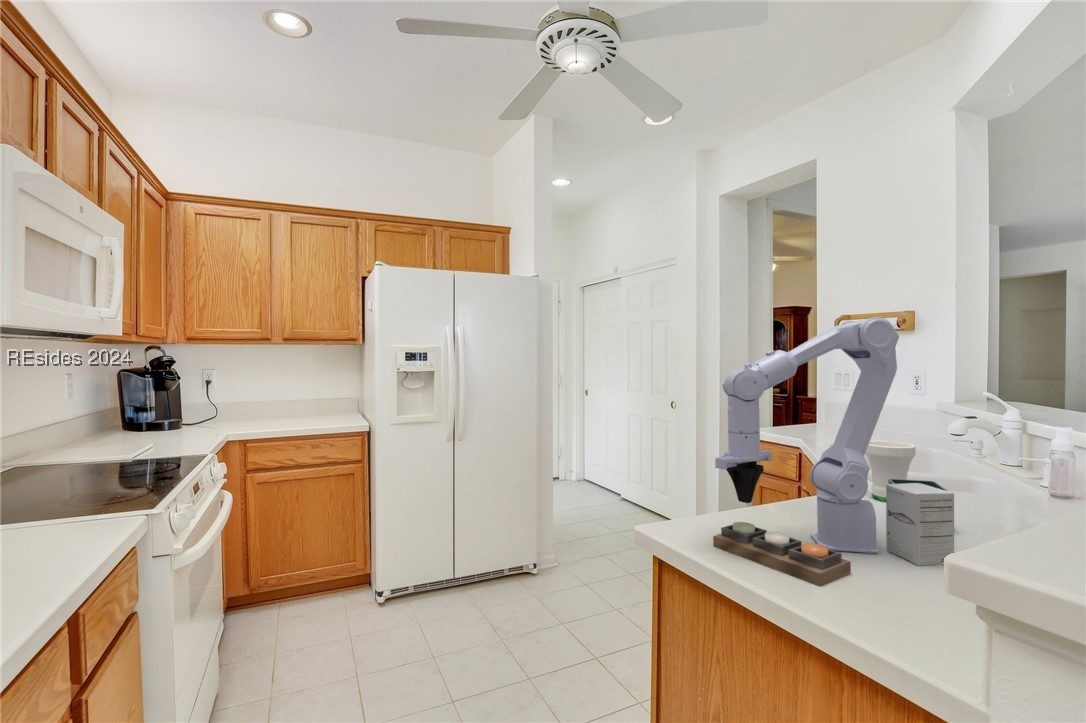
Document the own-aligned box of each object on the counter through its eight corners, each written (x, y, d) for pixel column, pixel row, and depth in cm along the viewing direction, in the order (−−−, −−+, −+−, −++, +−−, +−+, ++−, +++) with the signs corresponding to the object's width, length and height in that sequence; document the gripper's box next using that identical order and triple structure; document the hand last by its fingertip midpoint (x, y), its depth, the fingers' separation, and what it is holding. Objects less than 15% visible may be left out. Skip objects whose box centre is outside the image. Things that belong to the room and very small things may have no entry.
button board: (713, 546, 99) (713, 528, 99) (743, 537, 104) (743, 520, 104) (820, 586, 81) (819, 564, 81) (850, 573, 86) (850, 552, 86)
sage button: (728, 534, 99) (728, 524, 99) (741, 530, 101) (741, 520, 101) (746, 540, 96) (745, 530, 96) (759, 536, 98) (759, 526, 98)
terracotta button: (796, 557, 87) (796, 546, 87) (810, 553, 89) (810, 541, 89) (819, 565, 84) (819, 553, 84) (833, 560, 86) (833, 548, 86)
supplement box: (884, 550, 96) (884, 483, 96) (921, 549, 96) (920, 482, 96) (916, 566, 88) (916, 493, 88) (956, 564, 89) (955, 492, 89)
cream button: (760, 545, 93) (760, 534, 93) (773, 541, 95) (773, 530, 95) (780, 552, 90) (780, 540, 90) (794, 547, 92) (793, 536, 92)
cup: (917, 507, 123) (917, 448, 123) (863, 501, 129) (862, 445, 129) (914, 497, 132) (914, 442, 132) (864, 491, 138) (863, 439, 138)
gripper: (749, 426, 107) (750, 491, 107) (701, 432, 99) (703, 503, 99) (780, 430, 101) (781, 499, 101) (732, 436, 93) (734, 511, 93)
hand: (744, 501), depth 99 cm, fingers closed
